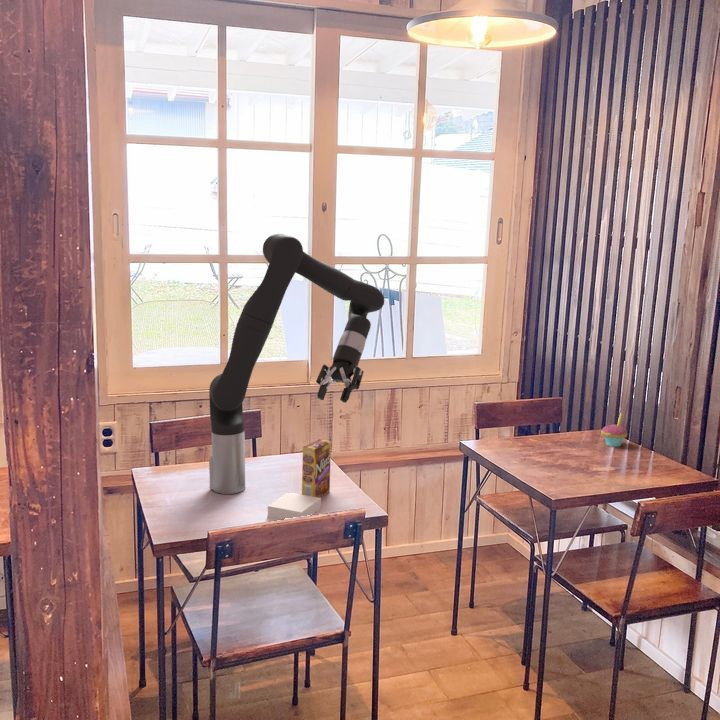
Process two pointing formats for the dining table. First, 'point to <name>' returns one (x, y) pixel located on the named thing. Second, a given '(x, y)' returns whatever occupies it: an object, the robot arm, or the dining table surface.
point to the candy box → (316, 468)
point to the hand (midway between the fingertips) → (331, 400)
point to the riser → (294, 506)
